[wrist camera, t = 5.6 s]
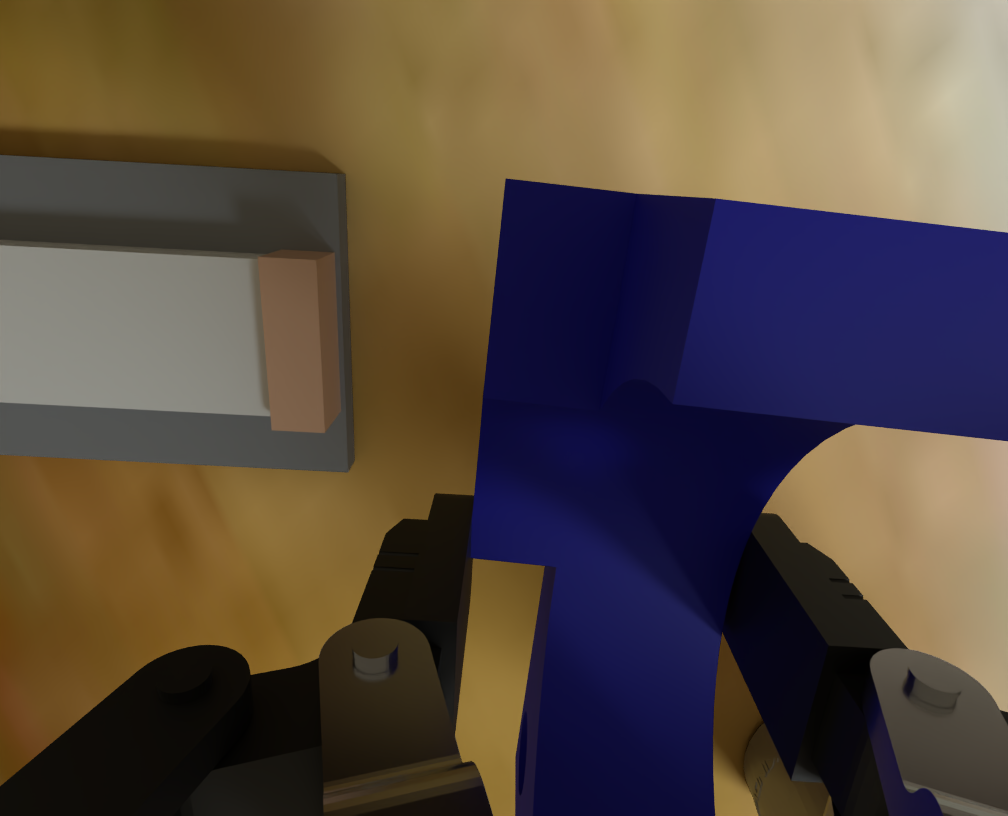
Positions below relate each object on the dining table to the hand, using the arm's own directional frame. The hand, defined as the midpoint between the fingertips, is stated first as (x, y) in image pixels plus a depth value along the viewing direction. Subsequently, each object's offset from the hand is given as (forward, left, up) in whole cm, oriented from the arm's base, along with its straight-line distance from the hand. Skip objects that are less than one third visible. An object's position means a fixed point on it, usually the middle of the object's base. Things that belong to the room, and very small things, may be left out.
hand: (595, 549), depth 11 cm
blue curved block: (0, 0, -1) cm, 1 cm away
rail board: (+17, 0, -16) cm, 23 cm away
